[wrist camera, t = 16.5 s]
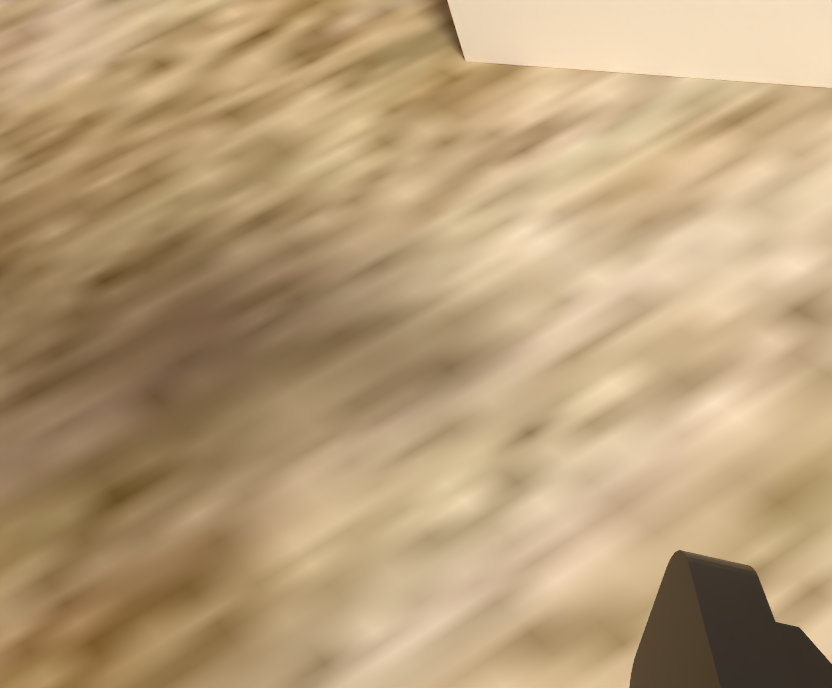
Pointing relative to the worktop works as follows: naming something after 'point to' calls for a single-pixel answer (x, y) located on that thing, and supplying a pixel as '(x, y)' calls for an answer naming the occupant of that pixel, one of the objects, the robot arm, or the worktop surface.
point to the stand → (655, 37)
